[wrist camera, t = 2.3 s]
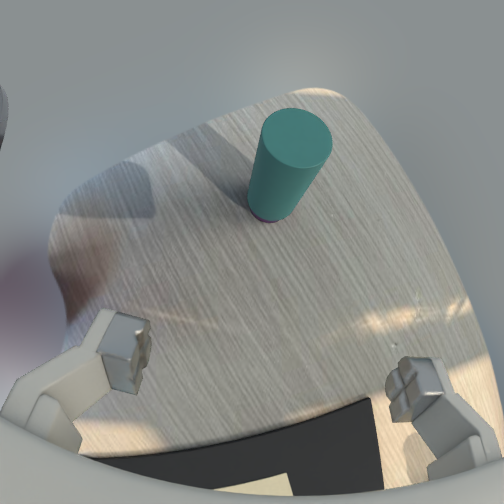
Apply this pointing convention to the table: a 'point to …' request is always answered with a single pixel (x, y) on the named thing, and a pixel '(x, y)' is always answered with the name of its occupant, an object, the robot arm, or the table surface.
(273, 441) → the desk mat
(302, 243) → the table surface
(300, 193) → the cylinder
